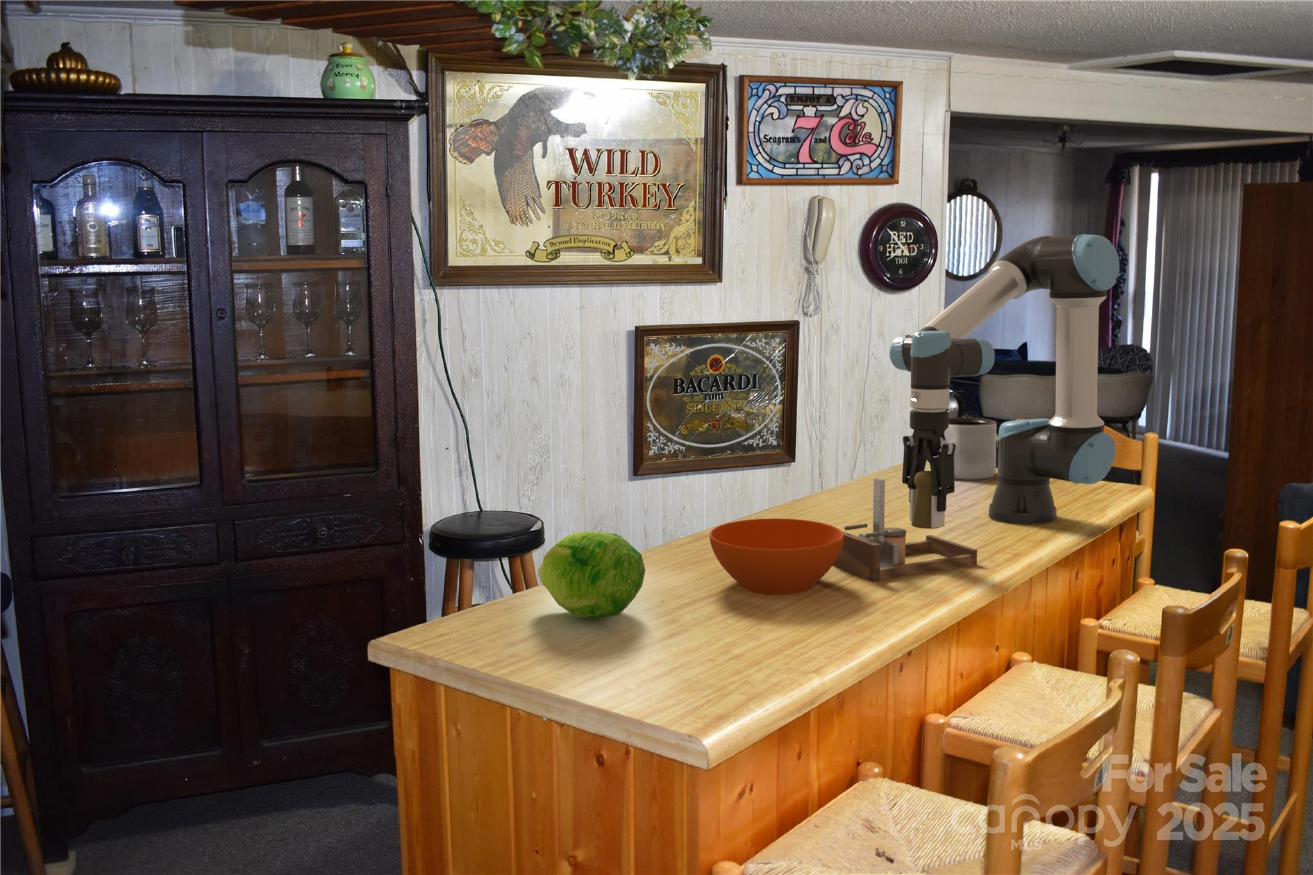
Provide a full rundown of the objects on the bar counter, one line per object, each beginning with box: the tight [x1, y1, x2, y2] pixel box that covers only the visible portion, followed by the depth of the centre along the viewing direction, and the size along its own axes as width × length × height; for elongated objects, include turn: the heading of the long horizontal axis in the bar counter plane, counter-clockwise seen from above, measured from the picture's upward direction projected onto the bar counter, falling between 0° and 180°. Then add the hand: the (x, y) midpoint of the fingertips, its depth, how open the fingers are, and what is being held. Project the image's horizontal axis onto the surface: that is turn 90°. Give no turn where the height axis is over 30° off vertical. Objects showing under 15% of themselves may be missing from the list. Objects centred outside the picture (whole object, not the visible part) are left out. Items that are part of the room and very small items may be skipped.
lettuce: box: [537, 531, 646, 620], centre depth 199 cm, size 17×20×15 cm
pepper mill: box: [910, 470, 941, 530], centre depth 230 cm, size 6×6×11 cm
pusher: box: [858, 477, 899, 568], centre depth 225 cm, size 1×11×18 cm, turn 25°
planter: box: [936, 416, 997, 481], centre depth 319 cm, size 16×16×16 cm
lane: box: [833, 523, 978, 582], centre depth 229 cm, size 25×14×8 cm, turn 115°
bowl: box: [709, 518, 844, 596], centre depth 216 cm, size 25×25×10 cm
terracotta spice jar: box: [884, 526, 907, 565], centre depth 228 cm, size 5×5×7 cm
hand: (926, 523), depth 231 cm, fingers closed on pepper mill, 6 cm apart
